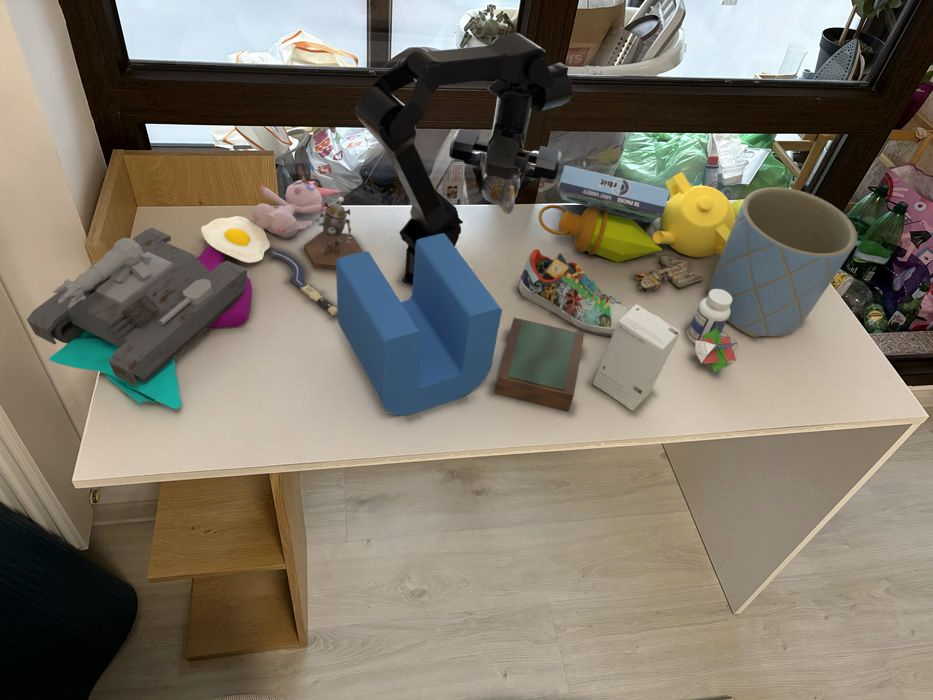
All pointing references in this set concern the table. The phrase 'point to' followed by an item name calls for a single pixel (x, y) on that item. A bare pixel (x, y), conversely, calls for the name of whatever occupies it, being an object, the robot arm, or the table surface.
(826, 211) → the planter
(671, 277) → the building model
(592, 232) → the plumb bob
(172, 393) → the cloth
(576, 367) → the framed green board
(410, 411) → the block
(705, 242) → the teapot
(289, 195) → the toy
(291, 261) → the decorative blade
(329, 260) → the robot figurine
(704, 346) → the geometric puzzle
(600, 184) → the gum box
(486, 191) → the mug
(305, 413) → the table surface
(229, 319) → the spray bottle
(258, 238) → the fried egg
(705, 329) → the pill bottle
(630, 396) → the cosmetic box
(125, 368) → the toy
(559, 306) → the sneaker
